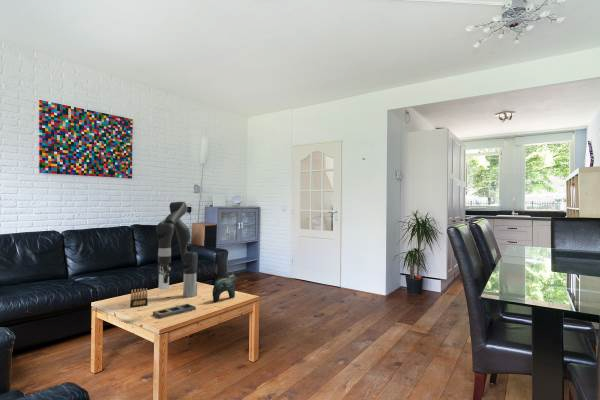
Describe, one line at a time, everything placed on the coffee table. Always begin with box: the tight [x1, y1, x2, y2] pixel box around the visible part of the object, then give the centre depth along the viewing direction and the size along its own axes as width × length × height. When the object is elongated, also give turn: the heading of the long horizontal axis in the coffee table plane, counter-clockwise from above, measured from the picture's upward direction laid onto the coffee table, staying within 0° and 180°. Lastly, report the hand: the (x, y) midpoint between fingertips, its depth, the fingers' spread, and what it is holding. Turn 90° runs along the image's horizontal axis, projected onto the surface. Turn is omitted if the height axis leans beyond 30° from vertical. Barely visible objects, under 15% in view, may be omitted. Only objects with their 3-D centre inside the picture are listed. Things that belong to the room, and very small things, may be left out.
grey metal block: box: [158, 273, 170, 291], centre depth 208 cm, size 4×4×9 cm
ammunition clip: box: [129, 287, 149, 309], centre depth 225 cm, size 11×2×12 cm, turn 124°
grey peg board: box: [152, 303, 197, 319], centre depth 214 cm, size 24×10×2 cm, turn 140°
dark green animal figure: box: [212, 271, 237, 303], centre depth 245 cm, size 20×6×20 cm, turn 141°
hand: (163, 282), depth 208 cm, fingers closed on grey metal block, 4 cm apart
